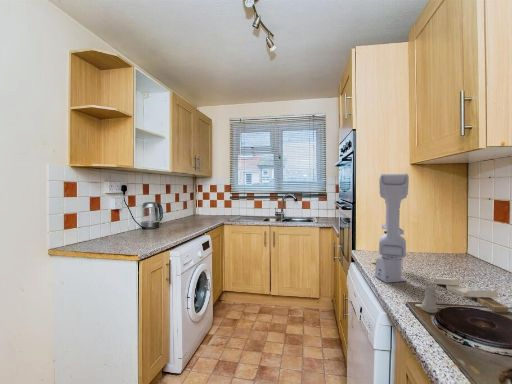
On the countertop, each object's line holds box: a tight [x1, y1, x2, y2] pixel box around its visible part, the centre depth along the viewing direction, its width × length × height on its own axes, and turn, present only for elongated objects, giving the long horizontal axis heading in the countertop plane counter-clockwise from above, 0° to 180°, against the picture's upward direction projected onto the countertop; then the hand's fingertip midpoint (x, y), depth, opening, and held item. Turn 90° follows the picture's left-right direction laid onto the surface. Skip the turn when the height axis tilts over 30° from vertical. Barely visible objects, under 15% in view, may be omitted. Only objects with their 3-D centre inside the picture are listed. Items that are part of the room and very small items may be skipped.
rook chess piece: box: [420, 283, 439, 314], centre depth 84 cm, size 4×4×8 cm
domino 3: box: [467, 290, 499, 299], centre depth 90 cm, size 2×4×7 cm
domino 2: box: [446, 285, 472, 298], centre depth 98 cm, size 2×4×7 cm
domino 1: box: [434, 277, 461, 286], centre depth 103 cm, size 2×4×7 cm
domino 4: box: [476, 297, 509, 314], centre depth 87 cm, size 2×4×7 cm
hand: (391, 246), depth 126 cm, fingers closed
